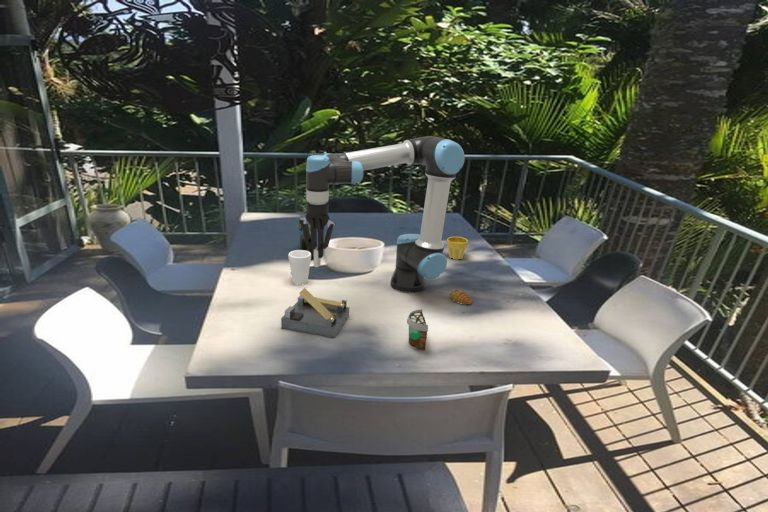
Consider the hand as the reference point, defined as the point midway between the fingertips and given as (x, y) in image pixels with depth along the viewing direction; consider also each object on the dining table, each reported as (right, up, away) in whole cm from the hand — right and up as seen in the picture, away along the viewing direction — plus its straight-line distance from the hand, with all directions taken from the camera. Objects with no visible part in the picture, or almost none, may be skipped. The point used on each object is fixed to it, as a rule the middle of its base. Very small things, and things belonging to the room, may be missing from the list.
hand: (317, 265), depth 174 cm
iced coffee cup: (+34, -27, -6) cm, 44 cm away
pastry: (+56, -15, +27) cm, 64 cm away
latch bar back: (+2, -15, +7) cm, 16 cm away
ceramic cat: (-14, +4, +68) cm, 70 cm away
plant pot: (+60, +2, +73) cm, 95 cm away
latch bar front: (0, -14, -5) cm, 15 cm away
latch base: (-1, -21, +4) cm, 21 cm away
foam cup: (-12, -8, +36) cm, 39 cm away
